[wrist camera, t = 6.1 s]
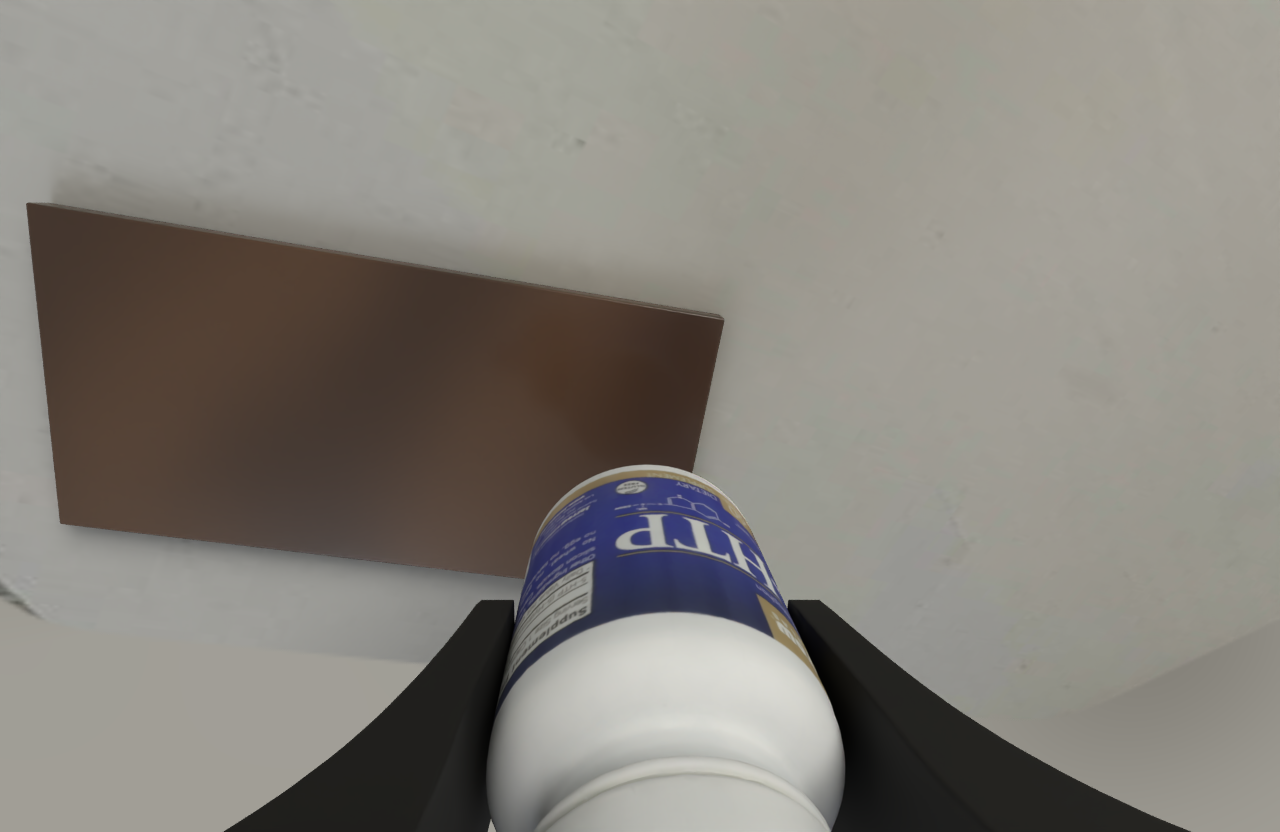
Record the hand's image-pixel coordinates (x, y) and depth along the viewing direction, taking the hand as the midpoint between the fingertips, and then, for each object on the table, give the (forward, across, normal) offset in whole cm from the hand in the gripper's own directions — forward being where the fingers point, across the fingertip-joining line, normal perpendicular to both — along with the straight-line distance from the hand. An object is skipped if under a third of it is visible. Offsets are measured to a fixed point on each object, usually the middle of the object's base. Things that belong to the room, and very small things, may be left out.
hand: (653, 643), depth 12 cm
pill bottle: (+3, 0, 0) cm, 3 cm away
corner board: (+10, +8, -1) cm, 13 cm away
